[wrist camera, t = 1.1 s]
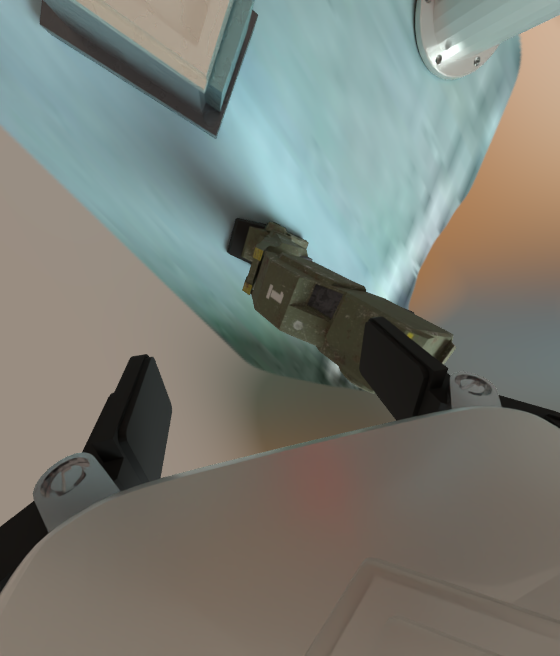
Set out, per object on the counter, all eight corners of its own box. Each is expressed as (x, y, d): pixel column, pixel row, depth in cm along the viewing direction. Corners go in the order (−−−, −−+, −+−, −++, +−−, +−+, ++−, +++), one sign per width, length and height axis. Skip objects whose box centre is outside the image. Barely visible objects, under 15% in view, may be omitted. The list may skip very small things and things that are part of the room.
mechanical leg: (199, 254, 36) (318, 427, 13) (211, 199, 33) (387, 304, 11) (282, 273, 43) (445, 404, 21) (297, 229, 40) (506, 328, 18)
